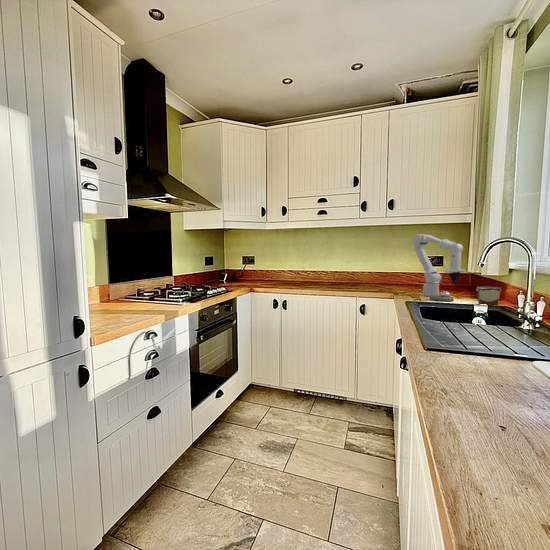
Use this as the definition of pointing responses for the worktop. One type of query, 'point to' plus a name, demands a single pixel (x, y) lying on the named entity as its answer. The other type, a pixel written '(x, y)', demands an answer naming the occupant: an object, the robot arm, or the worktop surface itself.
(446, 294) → the cover
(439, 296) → the turntable
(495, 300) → the food container
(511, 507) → the worktop surface
